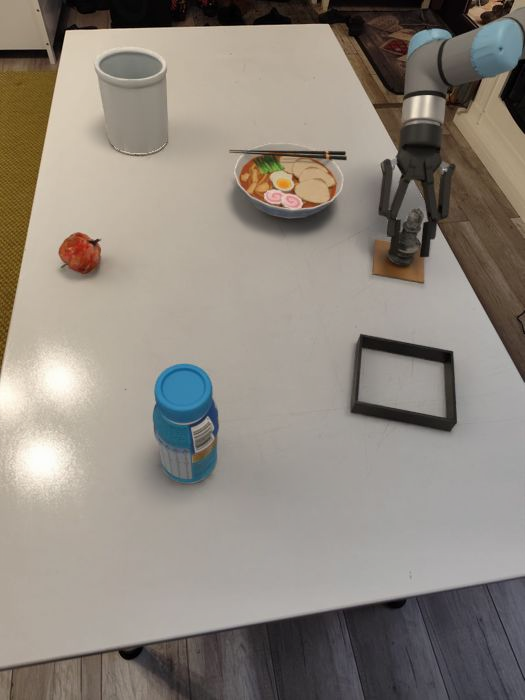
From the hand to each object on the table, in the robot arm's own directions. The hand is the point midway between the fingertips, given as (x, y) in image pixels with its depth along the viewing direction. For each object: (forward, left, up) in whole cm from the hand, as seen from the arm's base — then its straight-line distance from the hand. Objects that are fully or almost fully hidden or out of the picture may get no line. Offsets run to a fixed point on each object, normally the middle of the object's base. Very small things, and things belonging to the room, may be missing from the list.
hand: (408, 255), depth 98 cm
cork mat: (+1, -4, -5) cm, 6 cm away
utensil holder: (+63, -30, -5) cm, 69 cm away
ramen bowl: (+26, -16, -5) cm, 30 cm away
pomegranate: (+60, +13, -5) cm, 61 cm away
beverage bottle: (+31, +46, -5) cm, 56 cm away
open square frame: (0, +26, -5) cm, 27 cm away
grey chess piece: (+1, -4, -4) cm, 5 cm away
